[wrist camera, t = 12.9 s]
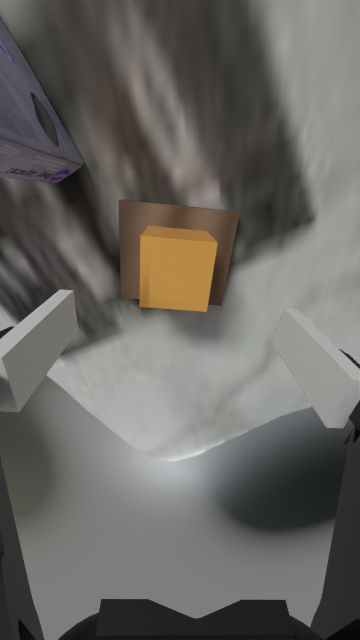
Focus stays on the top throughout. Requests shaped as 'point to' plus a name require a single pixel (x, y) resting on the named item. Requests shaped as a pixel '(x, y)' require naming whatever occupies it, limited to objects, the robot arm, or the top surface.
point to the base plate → (173, 216)
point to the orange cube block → (176, 268)
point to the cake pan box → (29, 123)
